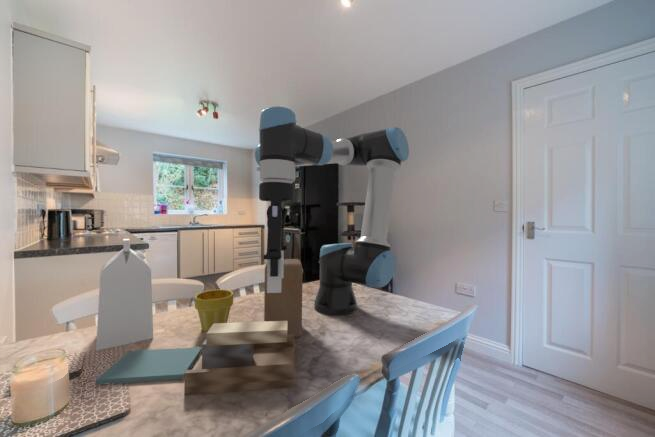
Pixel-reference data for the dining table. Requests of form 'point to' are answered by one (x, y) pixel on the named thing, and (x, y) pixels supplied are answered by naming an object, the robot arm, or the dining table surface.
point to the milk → (125, 300)
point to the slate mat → (151, 365)
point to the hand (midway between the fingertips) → (276, 284)
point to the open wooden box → (242, 368)
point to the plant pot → (213, 307)
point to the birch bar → (247, 333)
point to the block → (286, 298)
